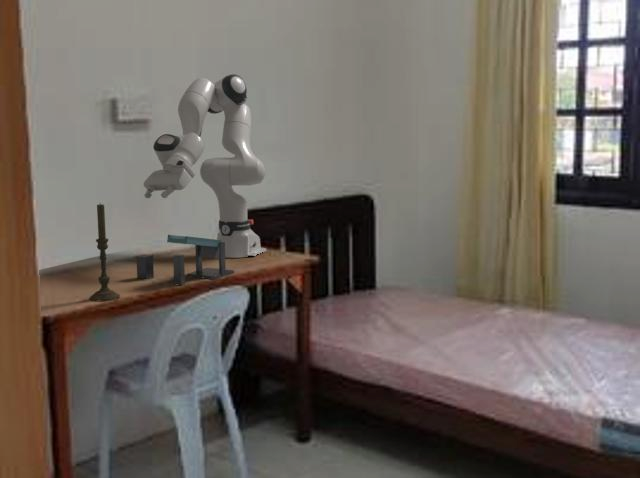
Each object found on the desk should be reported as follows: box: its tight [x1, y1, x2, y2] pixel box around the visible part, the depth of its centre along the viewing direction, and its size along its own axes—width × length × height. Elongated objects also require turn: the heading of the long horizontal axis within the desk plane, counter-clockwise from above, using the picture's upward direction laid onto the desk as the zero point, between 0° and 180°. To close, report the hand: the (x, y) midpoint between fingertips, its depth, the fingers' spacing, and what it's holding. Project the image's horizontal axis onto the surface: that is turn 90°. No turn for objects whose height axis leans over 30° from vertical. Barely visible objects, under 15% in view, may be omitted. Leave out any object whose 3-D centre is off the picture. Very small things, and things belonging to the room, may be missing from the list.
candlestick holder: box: [89, 202, 121, 302], centre depth 251 cm, size 9×9×30 cm
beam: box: [167, 234, 222, 259], centre depth 279 cm, size 23×9×6 cm, turn 152°
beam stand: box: [172, 242, 235, 286], centre depth 281 cm, size 25×12×12 cm, turn 152°
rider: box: [135, 253, 155, 280], centre depth 282 cm, size 4×4×8 cm
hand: (154, 196), depth 288 cm, fingers open, 8 cm apart
